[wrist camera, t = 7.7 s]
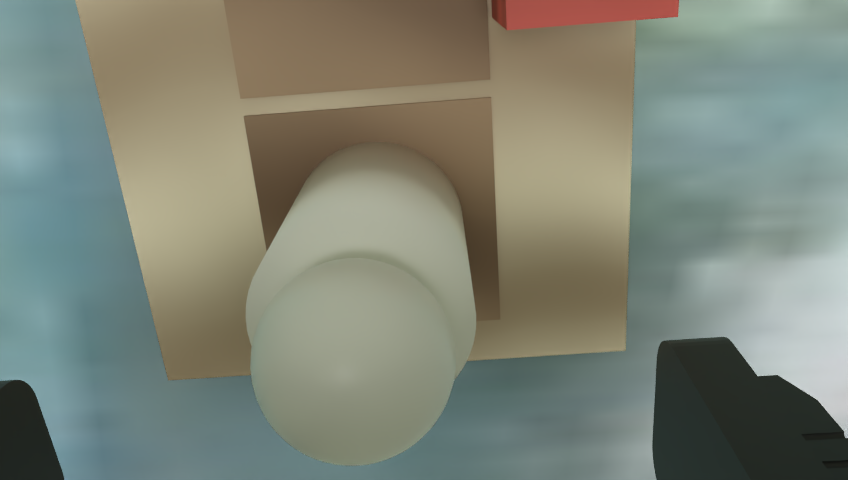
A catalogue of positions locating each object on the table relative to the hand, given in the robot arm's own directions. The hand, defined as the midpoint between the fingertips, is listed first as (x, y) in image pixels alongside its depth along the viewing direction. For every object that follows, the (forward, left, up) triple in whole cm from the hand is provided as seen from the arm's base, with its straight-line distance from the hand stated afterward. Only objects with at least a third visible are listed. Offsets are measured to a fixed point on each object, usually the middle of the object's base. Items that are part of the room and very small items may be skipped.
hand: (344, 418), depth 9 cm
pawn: (0, 0, -8) cm, 8 cm away
